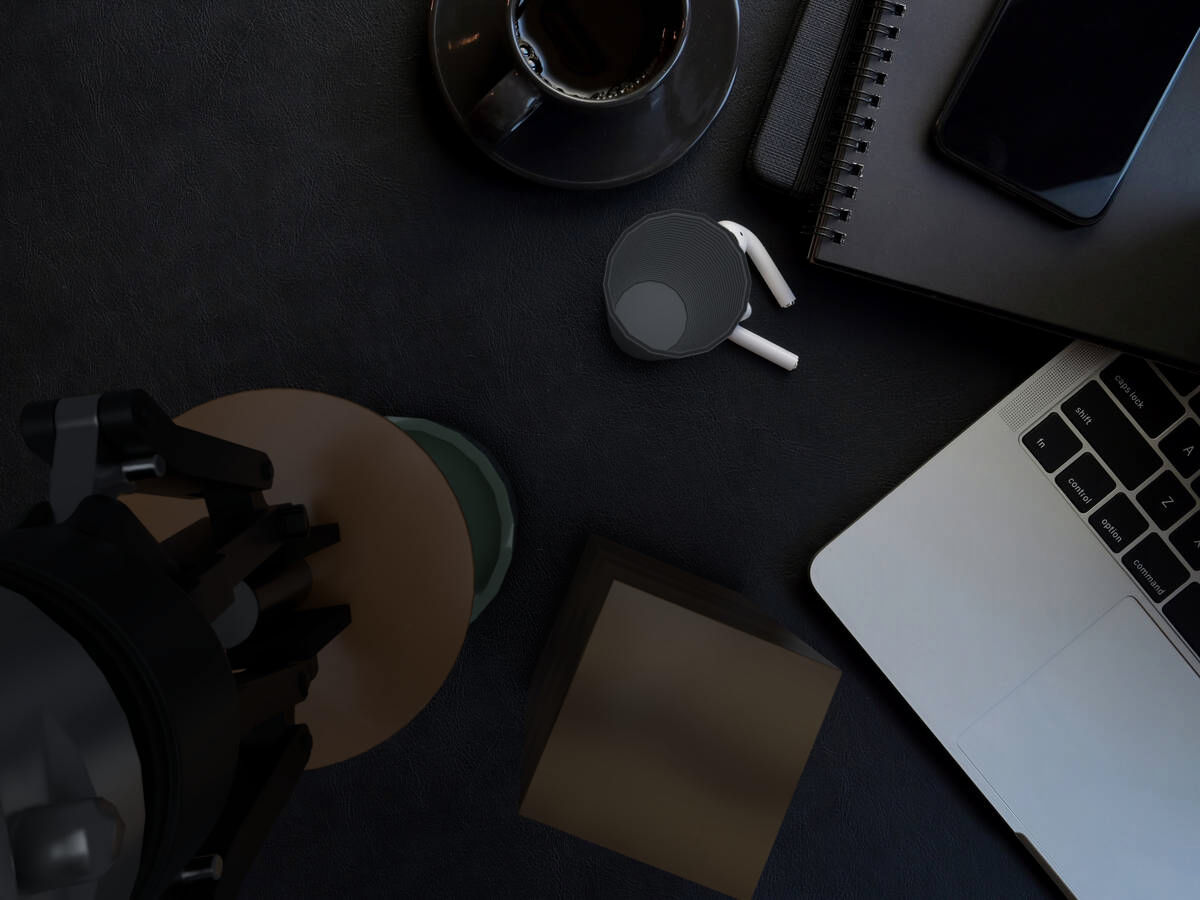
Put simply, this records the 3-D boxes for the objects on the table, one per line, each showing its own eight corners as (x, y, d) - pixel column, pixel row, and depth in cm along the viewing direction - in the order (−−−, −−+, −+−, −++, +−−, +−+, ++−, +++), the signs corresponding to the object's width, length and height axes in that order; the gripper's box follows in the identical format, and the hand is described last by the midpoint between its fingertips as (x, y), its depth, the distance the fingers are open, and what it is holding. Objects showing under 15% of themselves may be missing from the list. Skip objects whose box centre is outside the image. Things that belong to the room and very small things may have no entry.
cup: (619, 396, 68) (640, 381, 53) (572, 290, 68) (578, 244, 53) (724, 349, 69) (775, 321, 53) (677, 243, 69) (715, 184, 53)
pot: (472, 652, 68) (460, 683, 59) (283, 577, 67) (242, 597, 58) (548, 466, 68) (548, 469, 59) (361, 389, 67) (332, 381, 58)
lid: (369, 830, 39) (325, 925, 31) (21, 665, 38) (-111, 720, 30) (540, 494, 39) (538, 506, 31) (198, 322, 38) (111, 292, 30)
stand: (679, 744, 69) (749, 904, 45) (528, 684, 68) (517, 814, 44) (741, 593, 69) (843, 671, 45) (591, 532, 68) (613, 578, 44)
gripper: (236, 1267, 14) (431, 755, 38) (92, 249, 14) (378, 371, 38) (-274, 1358, 14) (243, 783, 37) (-430, 312, 14) (189, 395, 37)
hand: (311, 577), depth 37 cm, fingers closed on lid, 3 cm apart
